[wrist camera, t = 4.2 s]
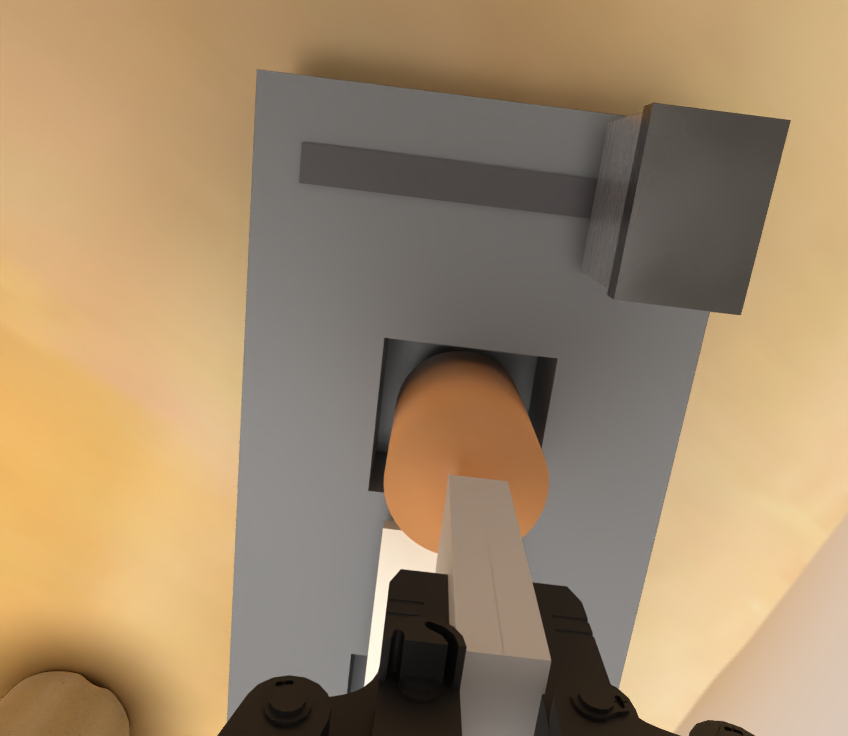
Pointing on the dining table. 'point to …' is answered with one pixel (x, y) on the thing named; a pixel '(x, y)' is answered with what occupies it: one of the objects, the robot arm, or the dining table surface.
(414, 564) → the rocker
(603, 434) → the console
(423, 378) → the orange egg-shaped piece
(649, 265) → the fader
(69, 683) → the flower pot
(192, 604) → the dining table surface
